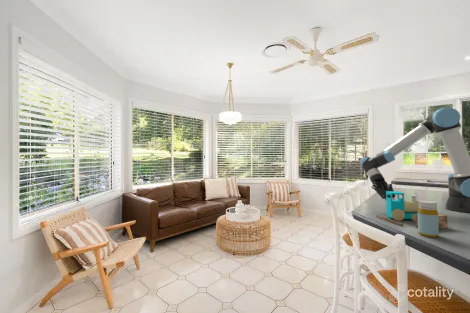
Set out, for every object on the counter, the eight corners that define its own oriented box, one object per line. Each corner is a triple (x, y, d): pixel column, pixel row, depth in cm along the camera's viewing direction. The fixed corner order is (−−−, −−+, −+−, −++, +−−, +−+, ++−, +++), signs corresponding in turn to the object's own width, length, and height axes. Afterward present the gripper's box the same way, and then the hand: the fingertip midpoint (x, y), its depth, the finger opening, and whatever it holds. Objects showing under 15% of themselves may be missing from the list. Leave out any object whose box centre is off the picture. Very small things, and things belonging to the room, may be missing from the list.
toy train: (427, 221, 123) (426, 193, 123) (392, 220, 126) (391, 193, 126) (418, 217, 130) (418, 191, 130) (386, 216, 134) (385, 191, 134)
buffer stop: (438, 225, 117) (438, 213, 117) (447, 227, 112) (447, 215, 112) (412, 226, 115) (412, 214, 115) (421, 229, 111) (420, 216, 111)
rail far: (377, 217, 134) (377, 214, 134) (403, 226, 116) (403, 223, 116) (375, 217, 134) (375, 215, 134) (401, 226, 116) (401, 224, 116)
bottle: (414, 232, 106) (413, 200, 106) (428, 232, 107) (427, 199, 107) (428, 238, 99) (427, 203, 99) (443, 237, 100) (442, 202, 100)
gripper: (382, 180, 154) (402, 211, 137) (363, 180, 152) (382, 211, 136) (387, 172, 148) (410, 204, 132) (368, 173, 147) (389, 204, 131)
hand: (396, 208), depth 134 cm, fingers closed
